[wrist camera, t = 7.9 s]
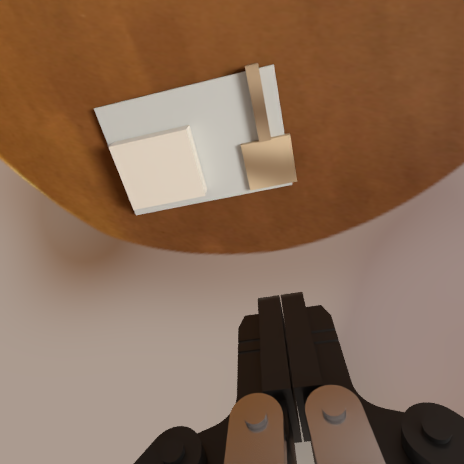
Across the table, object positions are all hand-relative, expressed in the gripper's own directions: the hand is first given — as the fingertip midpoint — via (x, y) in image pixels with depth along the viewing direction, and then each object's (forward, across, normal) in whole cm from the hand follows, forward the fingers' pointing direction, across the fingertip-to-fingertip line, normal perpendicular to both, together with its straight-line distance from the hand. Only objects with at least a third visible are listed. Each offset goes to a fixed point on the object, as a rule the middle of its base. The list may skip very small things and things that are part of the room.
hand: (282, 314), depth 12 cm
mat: (+27, +6, +1) cm, 28 cm away
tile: (+26, +7, +2) cm, 27 cm away
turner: (+27, -1, +1) cm, 27 cm away
